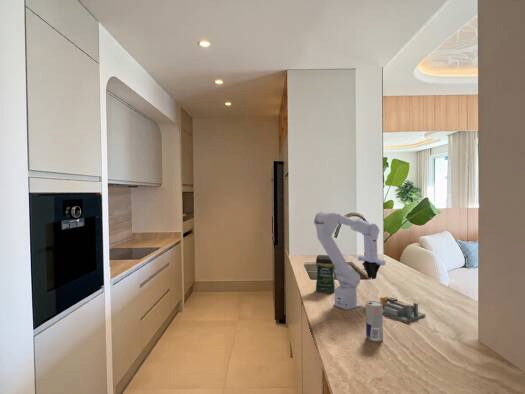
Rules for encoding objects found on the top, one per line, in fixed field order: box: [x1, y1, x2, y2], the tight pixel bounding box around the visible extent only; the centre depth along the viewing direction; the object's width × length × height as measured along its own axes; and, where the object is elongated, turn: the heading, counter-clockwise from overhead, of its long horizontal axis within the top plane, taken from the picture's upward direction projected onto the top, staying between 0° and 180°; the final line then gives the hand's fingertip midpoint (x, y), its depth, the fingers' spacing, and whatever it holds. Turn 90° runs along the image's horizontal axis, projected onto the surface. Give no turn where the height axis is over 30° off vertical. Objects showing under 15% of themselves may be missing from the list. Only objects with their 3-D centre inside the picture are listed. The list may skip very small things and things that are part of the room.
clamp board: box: [379, 295, 426, 324], centre depth 131 cm, size 12×16×6 cm
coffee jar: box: [315, 254, 336, 294], centre depth 163 cm, size 10×8×19 cm
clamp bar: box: [384, 297, 415, 309], centre depth 130 cm, size 13×3×1 cm, turn 30°
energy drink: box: [365, 300, 384, 343], centre depth 108 cm, size 5×5×12 cm
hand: (372, 278), depth 147 cm, fingers closed
